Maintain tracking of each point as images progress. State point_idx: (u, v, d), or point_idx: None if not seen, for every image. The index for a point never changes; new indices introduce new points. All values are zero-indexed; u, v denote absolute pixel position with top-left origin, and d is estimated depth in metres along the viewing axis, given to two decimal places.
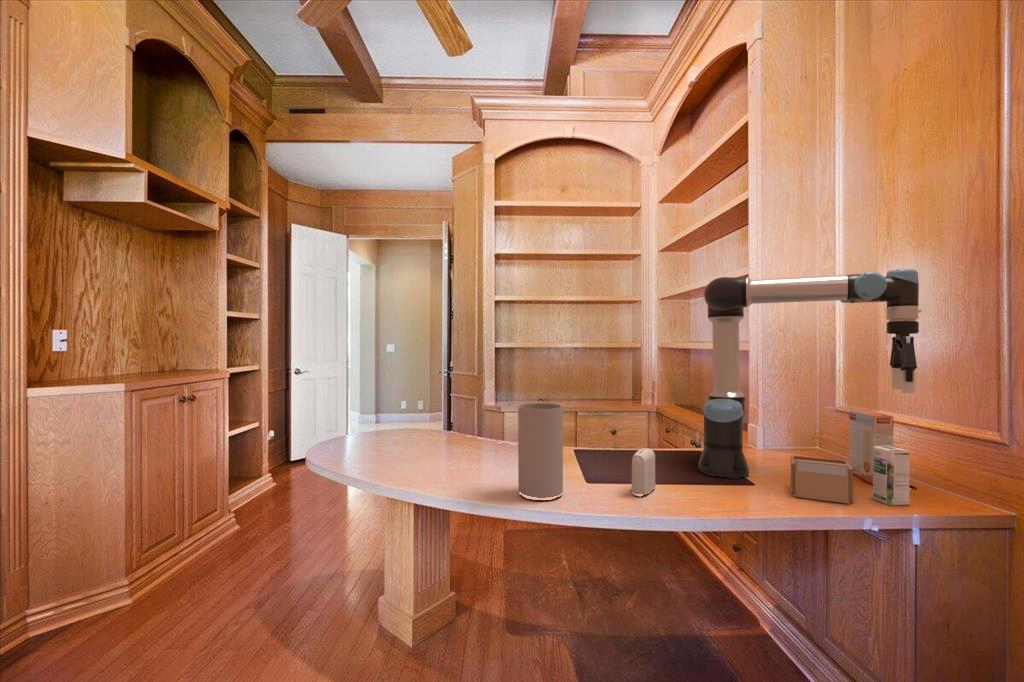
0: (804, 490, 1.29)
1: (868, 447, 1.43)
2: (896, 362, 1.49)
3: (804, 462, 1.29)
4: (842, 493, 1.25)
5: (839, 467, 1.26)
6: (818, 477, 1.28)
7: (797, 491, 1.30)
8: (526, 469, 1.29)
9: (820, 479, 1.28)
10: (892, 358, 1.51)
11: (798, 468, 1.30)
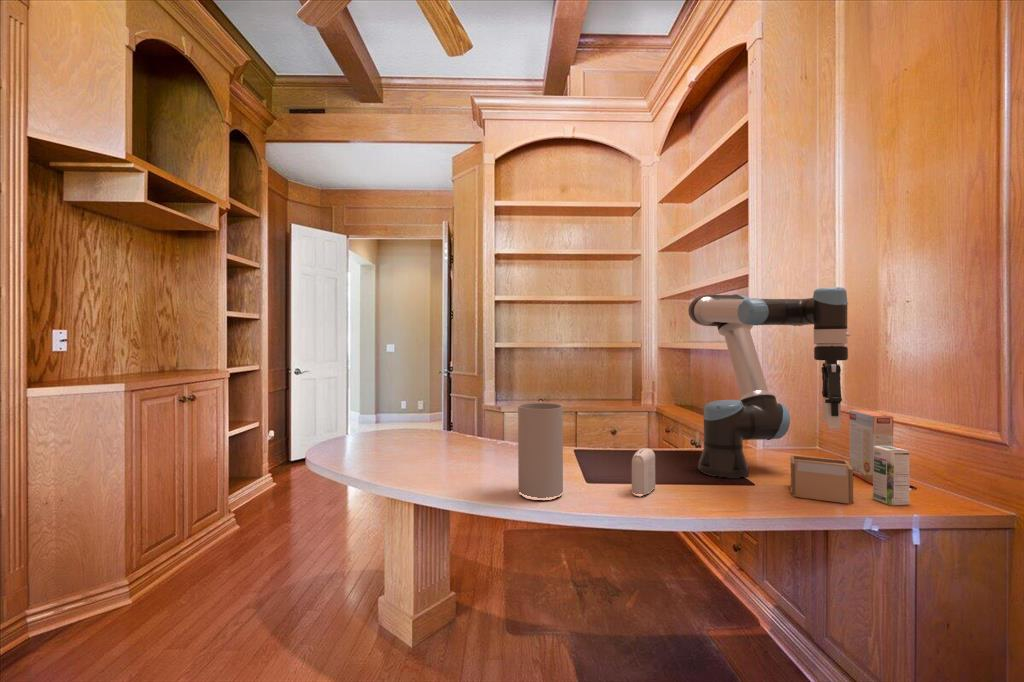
0: (804, 490, 1.29)
1: (868, 447, 1.43)
2: (827, 391, 1.32)
3: (804, 462, 1.29)
4: (842, 493, 1.25)
5: (839, 467, 1.26)
6: (818, 477, 1.28)
7: (797, 491, 1.30)
8: (526, 469, 1.29)
9: (820, 479, 1.28)
10: (824, 386, 1.34)
11: (798, 468, 1.30)
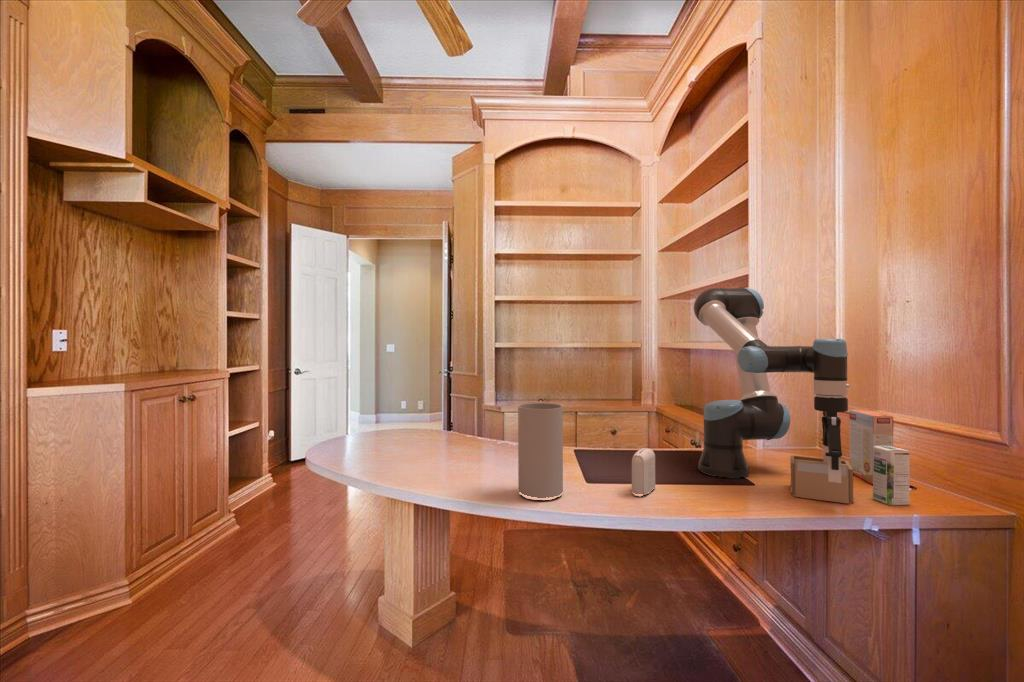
0: (804, 490, 1.29)
1: (868, 447, 1.43)
2: (827, 440, 1.32)
3: (804, 462, 1.29)
4: (842, 493, 1.25)
5: None
6: (818, 477, 1.28)
7: (797, 491, 1.30)
8: (526, 469, 1.29)
9: (820, 479, 1.28)
10: (824, 434, 1.34)
11: (798, 468, 1.30)
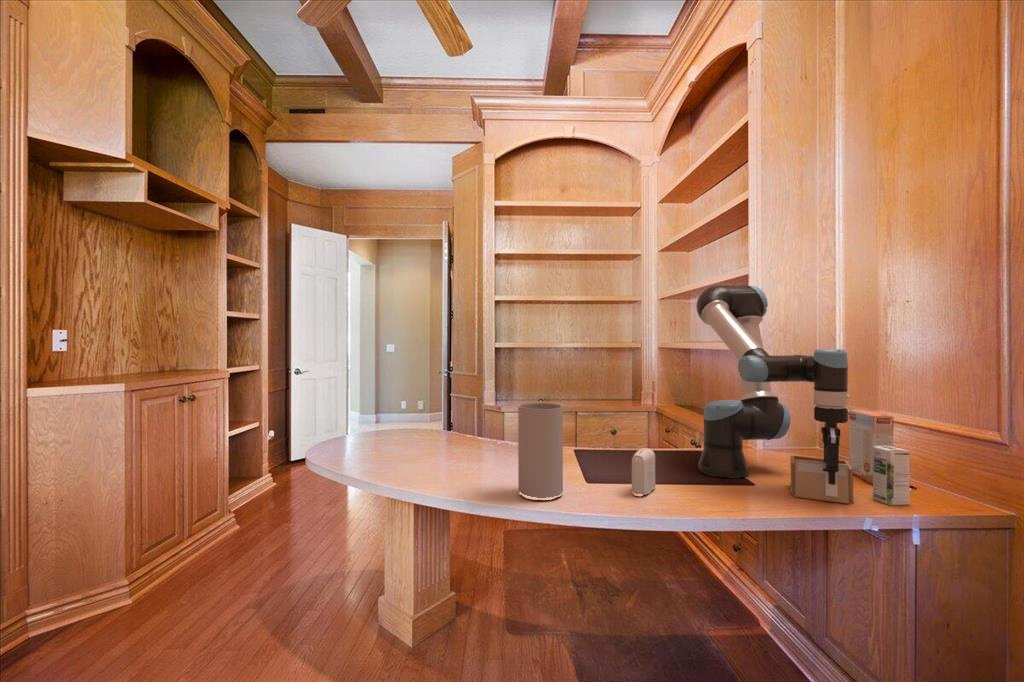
0: (804, 490, 1.29)
1: (868, 447, 1.43)
2: None
3: (804, 462, 1.29)
4: (842, 493, 1.25)
5: (839, 467, 1.26)
6: (818, 477, 1.28)
7: (797, 491, 1.30)
8: (526, 469, 1.29)
9: (820, 479, 1.28)
10: (825, 453, 1.31)
11: (798, 468, 1.30)
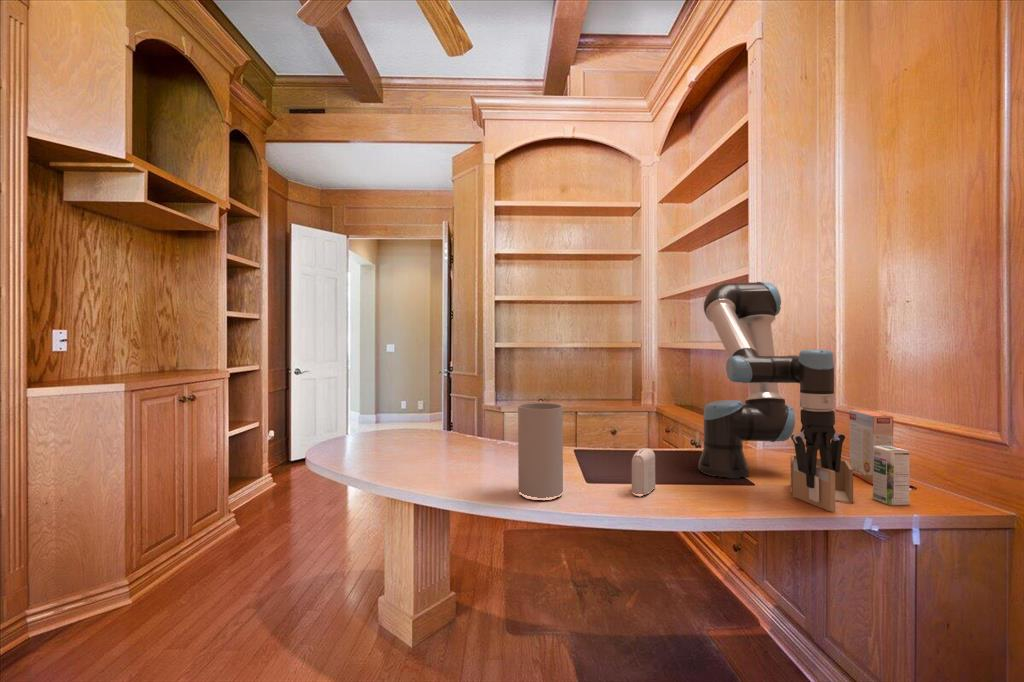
0: (798, 491, 1.29)
1: (868, 447, 1.43)
2: (823, 464, 1.23)
3: None
4: (826, 499, 1.20)
5: (823, 472, 1.21)
6: None
7: (794, 491, 1.30)
8: (526, 469, 1.29)
9: None
10: None
11: (794, 468, 1.30)
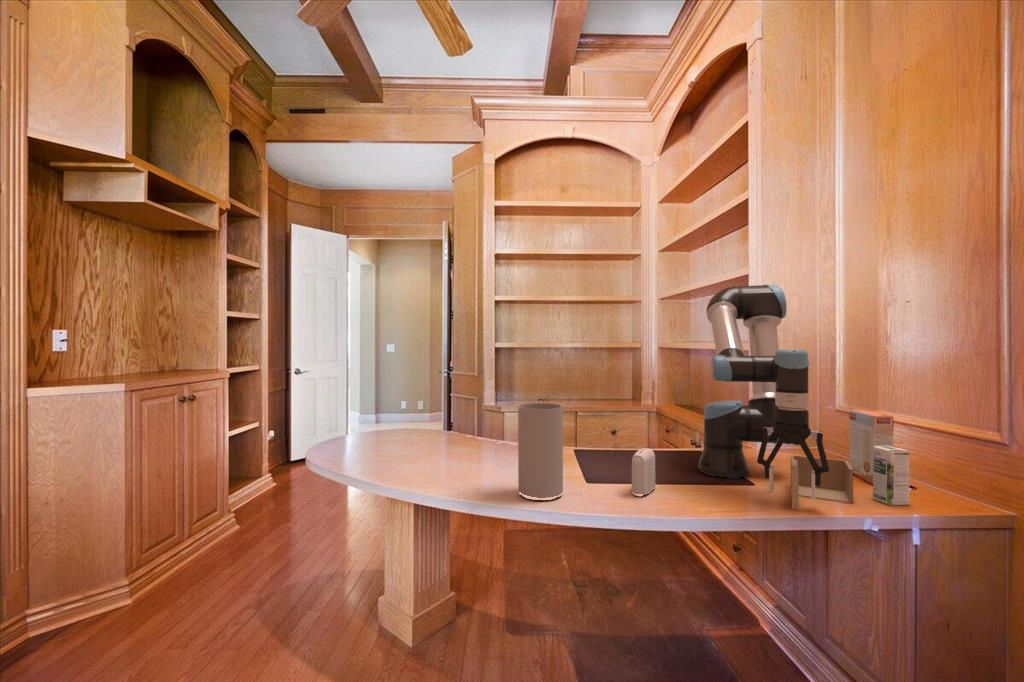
0: None
1: (868, 447, 1.43)
2: None
3: (791, 462, 1.29)
4: None
5: None
6: (791, 479, 1.27)
7: None
8: (526, 469, 1.29)
9: None
10: None
11: None
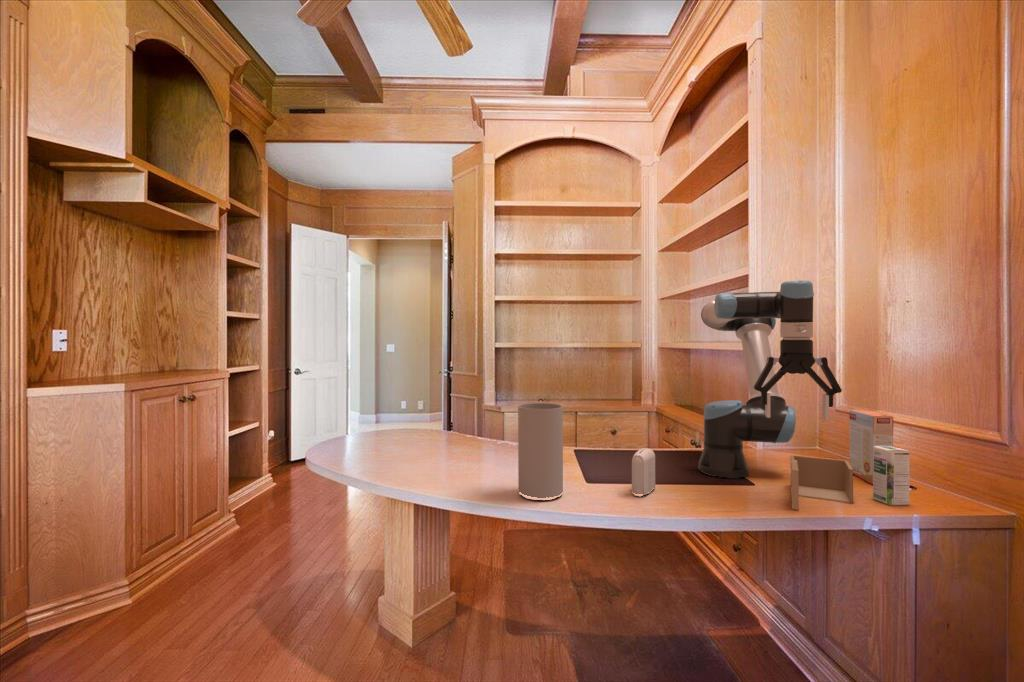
0: None
1: (868, 447, 1.43)
2: (821, 387, 1.25)
3: (791, 462, 1.29)
4: None
5: None
6: (791, 479, 1.27)
7: None
8: (526, 469, 1.29)
9: None
10: (829, 382, 1.25)
11: None
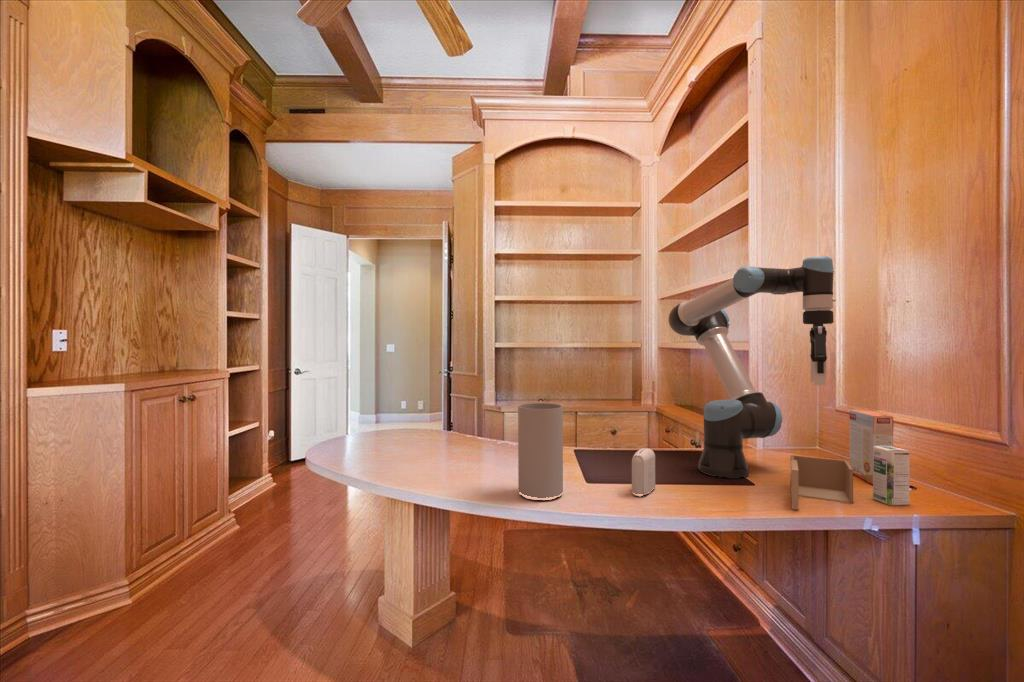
0: None
1: (868, 447, 1.43)
2: (815, 354, 1.43)
3: (791, 462, 1.29)
4: None
5: None
6: (791, 479, 1.27)
7: None
8: (526, 469, 1.29)
9: None
10: (812, 350, 1.46)
11: None
